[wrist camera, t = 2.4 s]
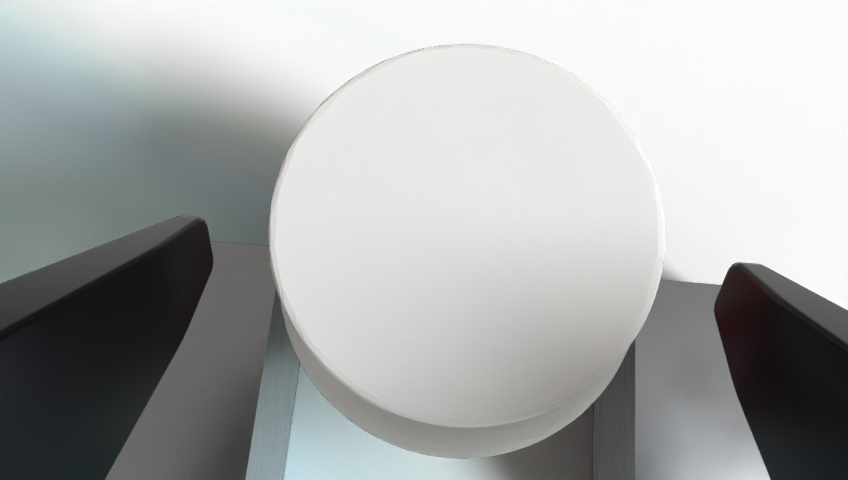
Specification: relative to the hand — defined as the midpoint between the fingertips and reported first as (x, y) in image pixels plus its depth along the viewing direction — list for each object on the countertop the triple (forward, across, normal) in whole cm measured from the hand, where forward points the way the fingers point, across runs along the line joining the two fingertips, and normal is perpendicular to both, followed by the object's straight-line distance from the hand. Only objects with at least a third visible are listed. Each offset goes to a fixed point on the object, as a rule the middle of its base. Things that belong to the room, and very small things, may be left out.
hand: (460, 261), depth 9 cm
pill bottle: (+6, 0, +6) cm, 8 cm away
